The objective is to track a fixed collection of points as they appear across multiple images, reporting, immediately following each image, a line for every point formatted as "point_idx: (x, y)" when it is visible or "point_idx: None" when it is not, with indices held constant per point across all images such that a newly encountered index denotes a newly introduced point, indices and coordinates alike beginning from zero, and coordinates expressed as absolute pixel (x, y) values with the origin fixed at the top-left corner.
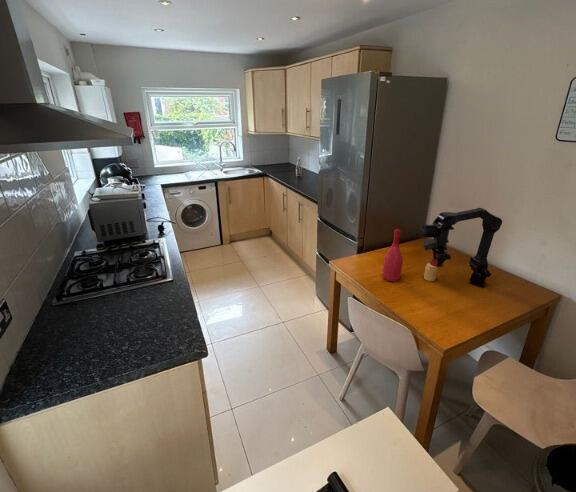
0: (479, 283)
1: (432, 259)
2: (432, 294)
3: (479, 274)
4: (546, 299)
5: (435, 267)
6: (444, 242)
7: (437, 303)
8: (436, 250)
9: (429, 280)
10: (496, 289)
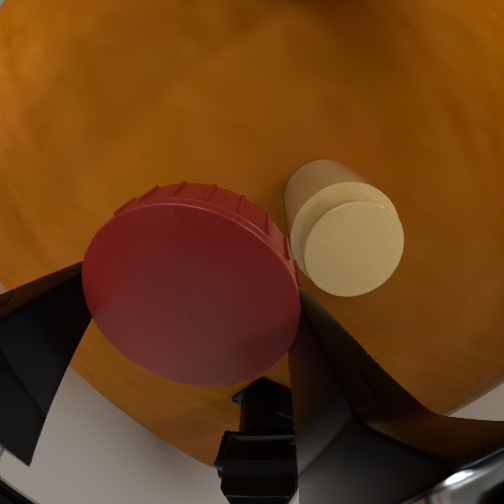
0: (243, 402)
1: (246, 267)
2: (113, 145)
3: (241, 436)
4: (193, 456)
5: (305, 268)
6: None
7: (45, 151)
8: (339, 485)
9: (287, 184)
10: (224, 418)
